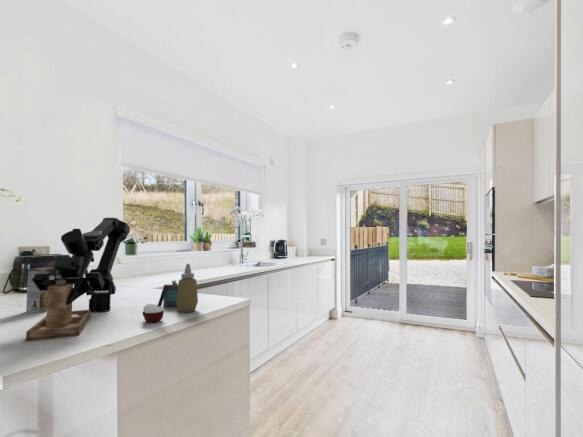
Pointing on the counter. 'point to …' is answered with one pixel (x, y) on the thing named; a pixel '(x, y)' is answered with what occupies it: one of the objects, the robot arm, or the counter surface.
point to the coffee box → (37, 291)
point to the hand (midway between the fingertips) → (57, 304)
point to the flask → (171, 295)
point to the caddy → (71, 330)
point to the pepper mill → (59, 305)
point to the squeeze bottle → (187, 292)
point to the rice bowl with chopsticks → (154, 309)
